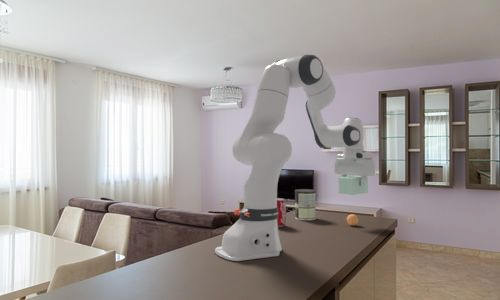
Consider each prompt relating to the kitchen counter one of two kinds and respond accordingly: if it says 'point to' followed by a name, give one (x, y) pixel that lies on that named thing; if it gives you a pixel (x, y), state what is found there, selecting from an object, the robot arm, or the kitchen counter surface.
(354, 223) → the orange sphere
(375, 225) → the kitchen counter surface
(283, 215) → the soda can
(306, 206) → the coffee can
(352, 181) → the mint green block
